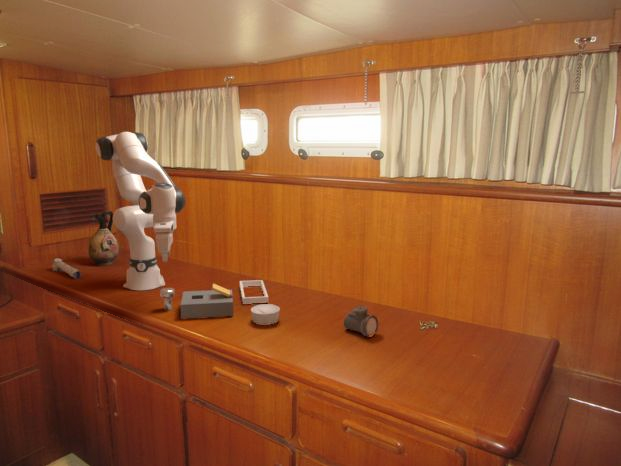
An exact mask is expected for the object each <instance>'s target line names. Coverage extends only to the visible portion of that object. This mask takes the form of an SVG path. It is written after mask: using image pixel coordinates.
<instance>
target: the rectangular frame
mask: <svg viewBox="0 0 621 466" xmlns="http://www.w3.org/2000/svg"><path fill="white" fill-rule="evenodd" d="M248 286H261V287H260V289H261V288H262V289H261V292H262V291H263V293H262V296H248V297H247V296H246V295H245V292H244V288H249V287H248ZM239 291H241V292H240V297H242V298H241V302H243V303H242V305H243V304H251V305H253V304H252V303H266V302H268V303H269V295H268V292H267V289H266V285H265V283H264V280H263V279H260V280H259V279H255V280H239ZM263 294H264V296H263Z"/></svg>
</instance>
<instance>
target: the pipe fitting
mask: <svg viewBox="0 0 621 466" xmlns="http://www.w3.org/2000/svg"><path fill="white" fill-rule="evenodd" d="M343 327H344V329H346V328H347V329H346V330H348V329H350V330H349V331H352V330H353V332H356V331H357V333H361V334H362V335H363V336H364V337H365V336H367V337H366V338H369V335H371V334H373V333H374V332H377V333H378V329H379V320H378V317H377V316H376V315H373V314H368V307H367V306H365V305H362V306H360V305H359V306H356V307H354V308H353V310H351V311H349V312H348V314H346V315H345V316H344V318H343Z"/></svg>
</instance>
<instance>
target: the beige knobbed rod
mask: <svg viewBox="0 0 621 466" xmlns="http://www.w3.org/2000/svg"><path fill="white" fill-rule="evenodd" d="M51 267H52V271H54V272H62V271H64V272H65V273H67V274H68V275H69V276H70V277H71V278H74V279H75V280H76V279H80V278H81V277H82V272H80V271H79V269H78V268H74V267H73V266H70V265H68V264H67V263H65V262H63V260H62V258H54V260H53V263H52V264H51Z"/></svg>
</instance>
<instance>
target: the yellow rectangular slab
mask: <svg viewBox="0 0 621 466" xmlns="http://www.w3.org/2000/svg"><path fill="white" fill-rule="evenodd" d="M211 287H212V288H211V290H213V291H216V292H218V293H220V294H223V295H225V296H228V297H230V298H232V297H234V295H233V289H232V290H230V289H227V288H225V287H222V286H221V285H218V284H216V283H212V286H211Z"/></svg>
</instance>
